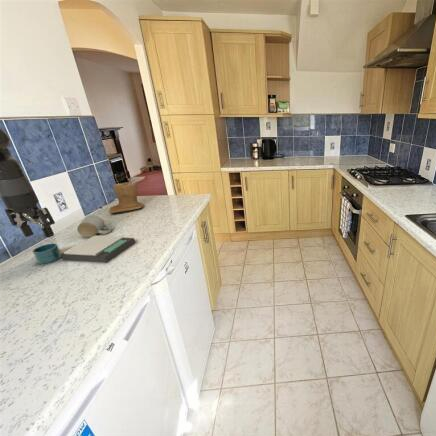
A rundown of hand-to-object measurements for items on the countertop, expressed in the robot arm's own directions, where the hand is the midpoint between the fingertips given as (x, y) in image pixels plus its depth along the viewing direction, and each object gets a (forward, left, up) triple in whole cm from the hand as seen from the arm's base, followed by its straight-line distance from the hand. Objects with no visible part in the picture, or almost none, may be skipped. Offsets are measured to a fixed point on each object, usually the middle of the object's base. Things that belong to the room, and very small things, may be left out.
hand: (40, 236), depth 84 cm
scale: (+14, +7, -10) cm, 18 cm away
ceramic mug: (-1, +21, -10) cm, 23 cm away
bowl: (0, 0, -10) cm, 10 cm away
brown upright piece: (-9, +49, -10) cm, 51 cm away
